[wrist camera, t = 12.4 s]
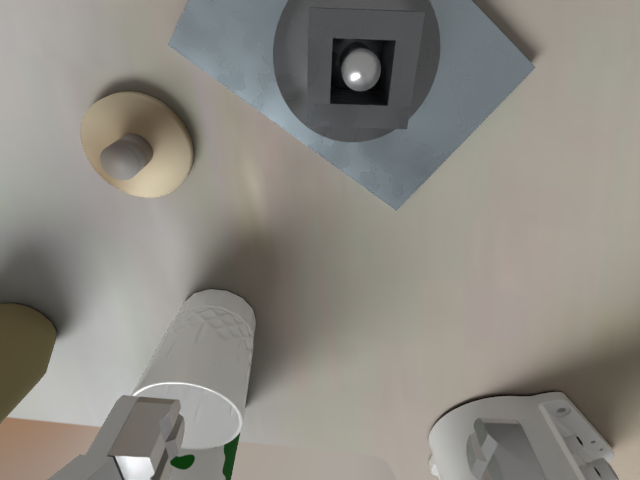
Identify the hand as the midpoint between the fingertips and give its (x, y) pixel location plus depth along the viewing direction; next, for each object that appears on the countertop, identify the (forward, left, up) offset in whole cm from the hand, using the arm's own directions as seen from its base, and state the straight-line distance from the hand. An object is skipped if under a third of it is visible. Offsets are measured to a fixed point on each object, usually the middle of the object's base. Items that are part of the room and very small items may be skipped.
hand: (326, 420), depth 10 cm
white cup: (-1, +17, -19) cm, 26 cm away
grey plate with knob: (+3, -7, -19) cm, 20 cm away
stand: (+11, +6, -19) cm, 23 cm away
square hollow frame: (+3, -7, -16) cm, 18 cm away
